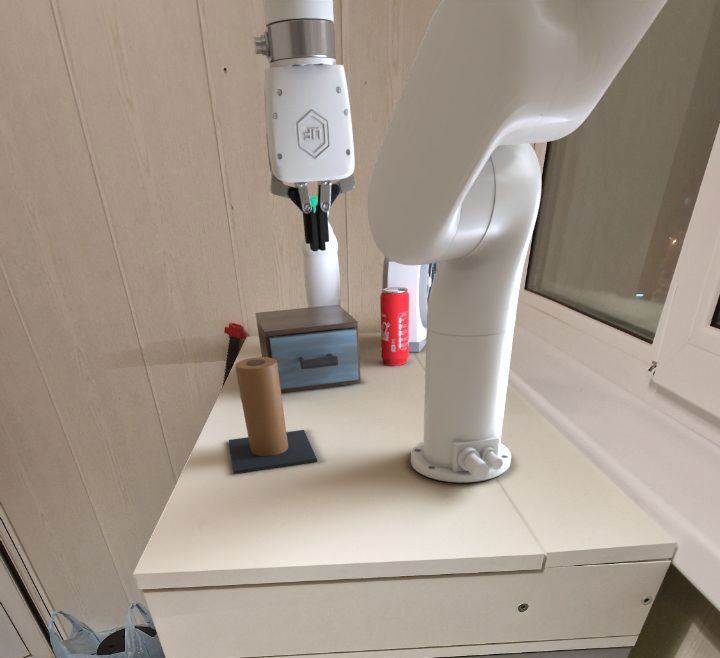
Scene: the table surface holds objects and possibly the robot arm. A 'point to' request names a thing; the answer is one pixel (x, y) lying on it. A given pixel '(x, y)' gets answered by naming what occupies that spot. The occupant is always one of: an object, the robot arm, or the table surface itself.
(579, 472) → the table surface
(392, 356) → the beverage can
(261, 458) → the mat
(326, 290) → the water bottle
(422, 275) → the white and grey container
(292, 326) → the cabinet
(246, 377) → the paper roll
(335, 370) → the drawer
